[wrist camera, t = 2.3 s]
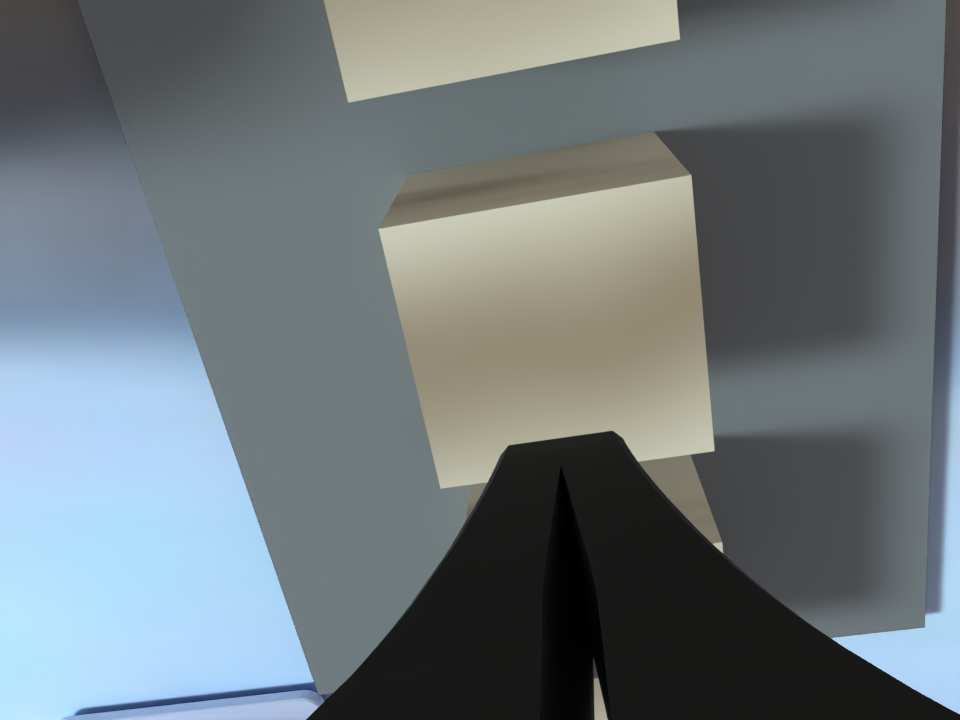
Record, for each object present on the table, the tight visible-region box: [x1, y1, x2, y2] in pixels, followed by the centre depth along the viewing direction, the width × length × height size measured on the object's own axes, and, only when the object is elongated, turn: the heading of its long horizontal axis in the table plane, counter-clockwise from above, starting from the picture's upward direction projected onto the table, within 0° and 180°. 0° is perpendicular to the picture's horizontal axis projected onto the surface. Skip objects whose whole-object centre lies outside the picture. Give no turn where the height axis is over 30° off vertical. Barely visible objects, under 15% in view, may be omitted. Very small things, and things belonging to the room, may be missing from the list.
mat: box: [77, 0, 946, 695], centre depth 18 cm, size 22×16×1 cm
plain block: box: [379, 132, 715, 489], centre depth 16 cm, size 5×5×4 cm
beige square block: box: [466, 455, 723, 720], centre depth 19 cm, size 5×5×4 cm
